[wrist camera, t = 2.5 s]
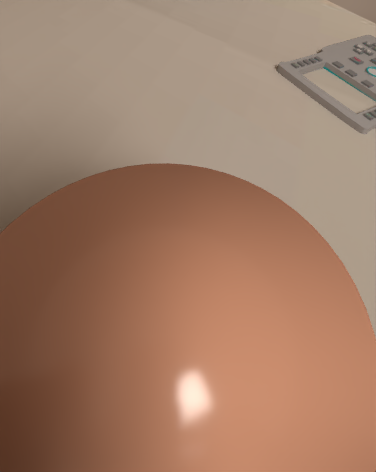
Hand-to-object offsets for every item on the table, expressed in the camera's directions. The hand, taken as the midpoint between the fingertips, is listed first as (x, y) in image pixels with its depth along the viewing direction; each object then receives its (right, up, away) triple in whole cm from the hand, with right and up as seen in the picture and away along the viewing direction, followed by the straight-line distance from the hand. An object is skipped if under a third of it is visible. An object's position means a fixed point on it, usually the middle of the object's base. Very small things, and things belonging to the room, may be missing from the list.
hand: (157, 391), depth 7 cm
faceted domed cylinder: (0, -4, +8) cm, 9 cm away
